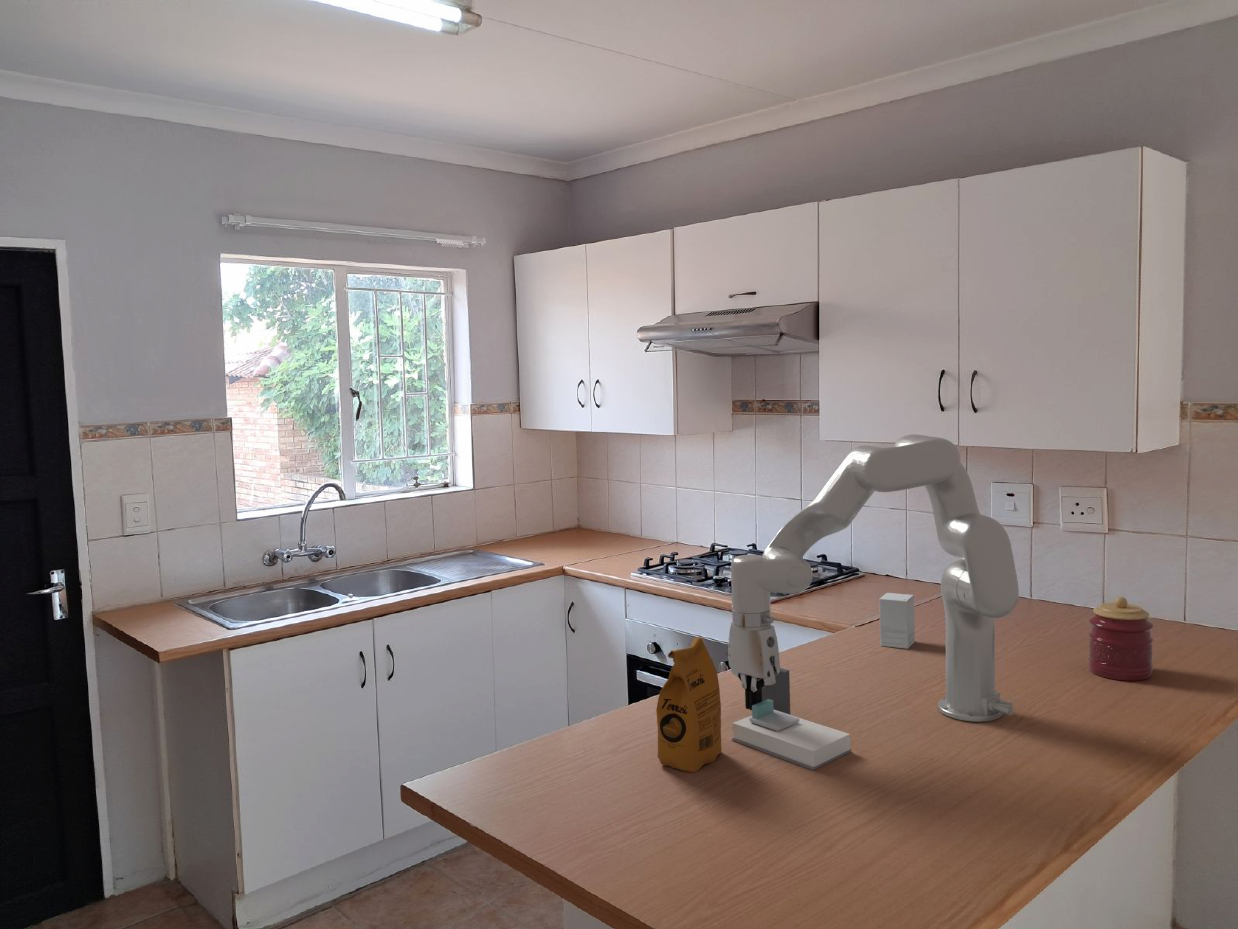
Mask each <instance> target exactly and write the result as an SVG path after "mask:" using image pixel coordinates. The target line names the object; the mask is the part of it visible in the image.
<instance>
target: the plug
mask: <svg viewBox="0 0 1238 929" xmlns="http://www.w3.org/2000/svg"><path fill="white" fill-rule="evenodd" d="M774 675H775V680H776V683H775V684H772V685H765V687H764V688H763V689H762V702H763V701H765V700H768V699H770V700H773V709H774V710H777V711H780V712H783V713H786V714H789V715H791V692H790V690H791V687H790V686H791V684H790V683H791V682H790V681H791V680H790V678H791V677H790V670H789V669H785V668H781V667H780V672H779V673H778V674H774Z"/></svg>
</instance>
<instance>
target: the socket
mask: <svg viewBox="0 0 1238 929" xmlns="http://www.w3.org/2000/svg"><path fill="white" fill-rule="evenodd" d="M773 710H774V709H773ZM774 711H777V710H774ZM777 712H780V711H777ZM780 713H783V712H780ZM783 714H786V713H783ZM786 715H789V714H786ZM789 716H792V717H796V718H799V722H798V723H795V724H793V725H791V726H788V727H786V728H784V729H781V730H779V731H775V730H773V729H770V728H767V727H764V726H761V725H758V724H755V723H752V722H750V718H752V714H751V715H749V716H747V717H746V716H745V717H744V718H741V719H738V720H737V721H734V722H733V723H732V738H731V741H732V742H735V743H738V744H741V745H743V746H746V747H748V748H751V749H754V750H756V751H760V752H761V753H765V754H767V755H770V756H773V757H774V758H775V757H776V758H778V759H781V760H784V761H786V762H789V763H791V764H794V765H796V766H798V767H799V766H800V767H801V768H805V769H806V770H807V769H808V770H811V771H814V770H817V769H819V768H821V767H822V766H823V767H824V765H827V764H829V763H831V762H832V761H836V760H837V759H839V758H841V757H843V756H845V755H847V754H849V753H851V752H852V748H851V734H850V733H848V732H846V731H845V732H844V731H842V730H838V729H836V728H832V727H829V726H827V725H826V726H825V725H823V724H820V723H817V722H813V721H810V720H807V719H804V718H801V717H799V716H796V715H791V714H790V715H789Z"/></svg>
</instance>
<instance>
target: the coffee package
mask: <svg viewBox="0 0 1238 929" xmlns="http://www.w3.org/2000/svg"><path fill="white" fill-rule="evenodd" d="M667 657H668V659H672V661H673V665H672V666H671V668H670V671H669V675H668V679H667V680H666V681H665V683H664V685H663V686H662V688H661V690H660V692H659V695H658V699H657V703H656V704H657V705H656V709H655V710H656V723H657V759H658V761H659V762H660V764H661V765H663V766H668V767H671V768H673V769H677V770H680V771H682V772H688V773H696V772H698V771H699V770H700V769H701V768H702V766H704V765H705V764H711V763H713V762H715V761H716V759H717V757H718V755H720V754H721V752H722V732H721V731H722V704H721V694H720V693H721V692H720V682H719V677H718V672H717V668H716V665H715V664H714V661H713V659H712V657H711V655H710V652H709V651H708V649H707V646H706V645H705V643H704V641H703V638H702V637H701V636H697V637H696V638H693V640H692V642H691V645H690V647H686V648H680V649H675V650H670V652H668V654H667Z"/></svg>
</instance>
